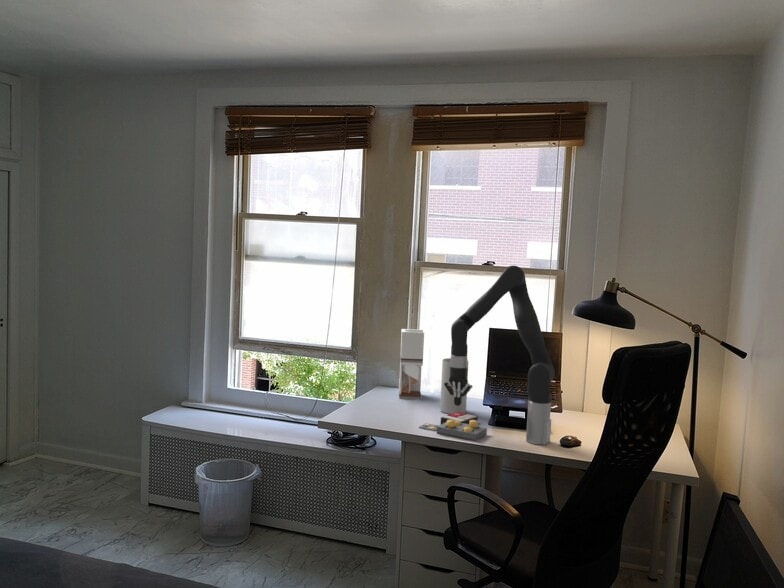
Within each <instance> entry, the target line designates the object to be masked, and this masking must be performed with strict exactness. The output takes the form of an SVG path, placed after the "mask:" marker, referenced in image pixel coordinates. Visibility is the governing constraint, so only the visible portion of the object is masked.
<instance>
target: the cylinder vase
mask: <svg viewBox="0 0 784 588" xmlns="http://www.w3.org/2000/svg"><path fill="white" fill-rule="evenodd" d="M450 359H451V357H450V358H449V357H448V358H443V359H442V362H441V363H442V364H441V383H440V384H441V385H440V386H441V387H440V401H439V402H440V403H439V405H440V407H439V410H440V411H441V412H442V413H444V414H447V415H449V414H453V413H456V412H460V413H465V414H466V411H467V398H468V393H467V394H466V395H465V396H463V397H462V400H461V404H460V405H459V406H456V405H455V404H454V396H453V395H450V393H449V392H448V390H447V388H446V387H445V385H444V383H446V382H448V381H449V378H450ZM468 363H469V360H468ZM468 374H469V367H468V368H467V380H468V379H469V375H468ZM468 381H469V380H468ZM451 387H452V385H451ZM452 389H453V387H452ZM465 389H466V386H465V387H464V388H463V392H464V391H465ZM463 392H462V393H463Z"/></svg>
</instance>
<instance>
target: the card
mask: <svg viewBox="0 0 784 588" xmlns="http://www.w3.org/2000/svg"><path fill="white" fill-rule="evenodd" d="M437 426H439V425H438V424H433V423H427V422H425V423H424V424H422V425H419V426H418V429H421V430H428V431H432V432H437Z"/></svg>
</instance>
